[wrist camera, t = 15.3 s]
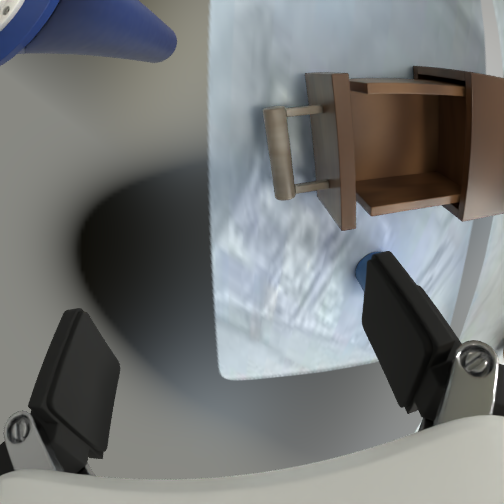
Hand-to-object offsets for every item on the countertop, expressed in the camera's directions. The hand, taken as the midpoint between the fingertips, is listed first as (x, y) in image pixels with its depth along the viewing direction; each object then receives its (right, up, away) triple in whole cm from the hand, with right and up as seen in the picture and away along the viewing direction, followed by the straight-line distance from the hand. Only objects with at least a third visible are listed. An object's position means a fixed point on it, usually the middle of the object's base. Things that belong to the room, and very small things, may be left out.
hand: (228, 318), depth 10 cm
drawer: (+10, +13, +16) cm, 23 cm away
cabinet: (+24, +16, +17) cm, 33 cm away
